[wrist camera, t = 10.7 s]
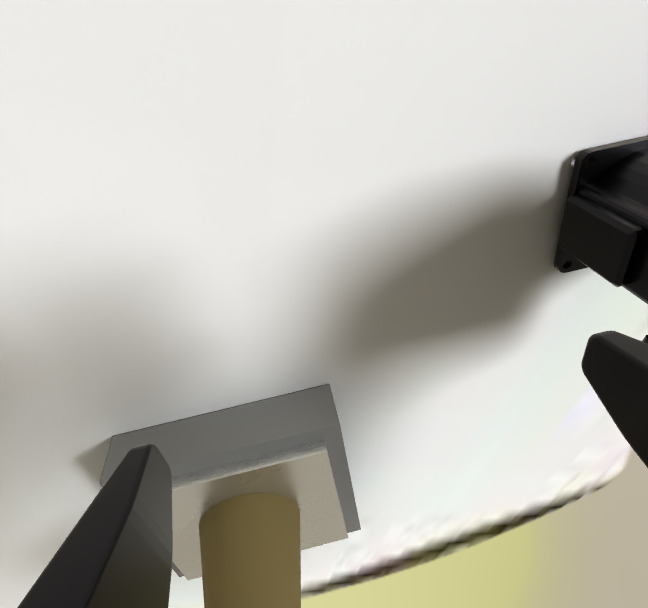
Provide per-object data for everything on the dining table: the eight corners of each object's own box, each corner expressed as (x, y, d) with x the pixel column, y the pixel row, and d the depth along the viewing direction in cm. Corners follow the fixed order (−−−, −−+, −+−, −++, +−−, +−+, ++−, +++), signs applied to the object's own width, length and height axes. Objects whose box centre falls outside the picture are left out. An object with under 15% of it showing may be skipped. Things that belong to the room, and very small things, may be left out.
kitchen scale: (329, 384, 25) (342, 435, 22) (351, 493, 33) (364, 544, 29) (112, 436, 24) (95, 497, 21) (185, 536, 32) (180, 592, 29)
